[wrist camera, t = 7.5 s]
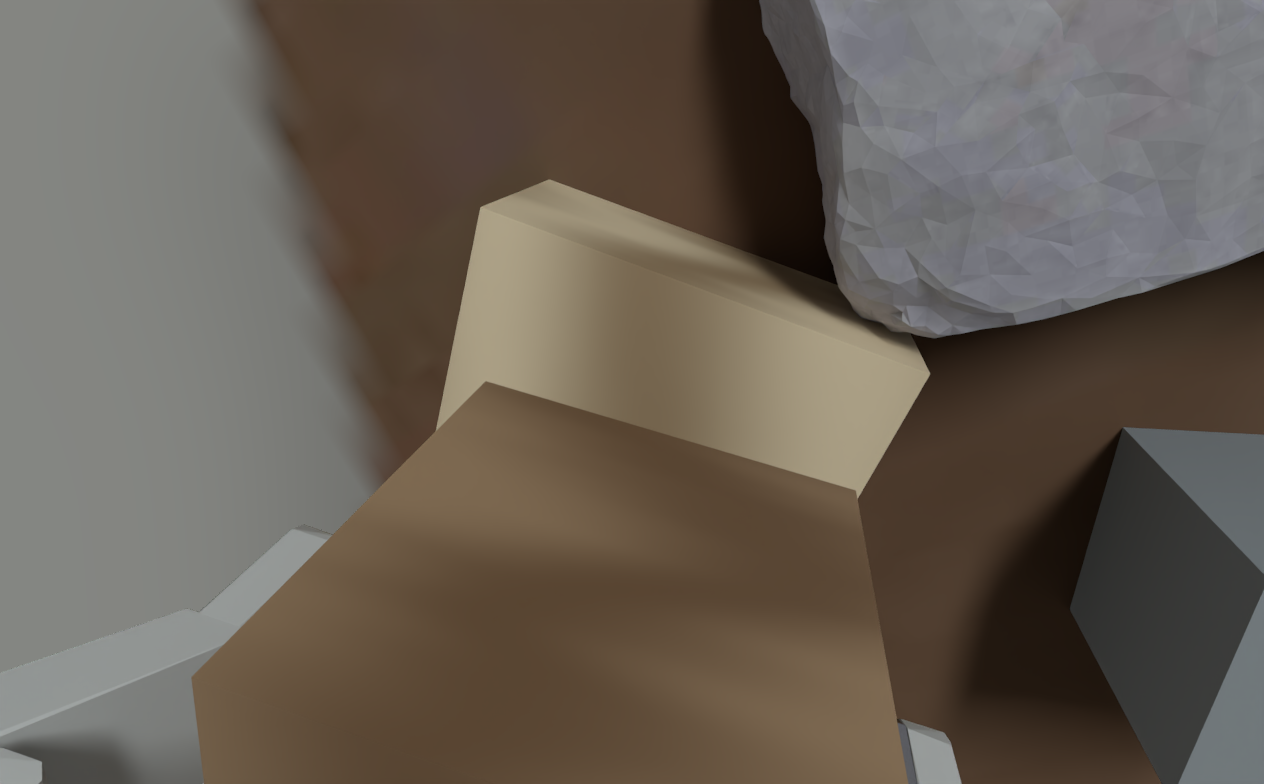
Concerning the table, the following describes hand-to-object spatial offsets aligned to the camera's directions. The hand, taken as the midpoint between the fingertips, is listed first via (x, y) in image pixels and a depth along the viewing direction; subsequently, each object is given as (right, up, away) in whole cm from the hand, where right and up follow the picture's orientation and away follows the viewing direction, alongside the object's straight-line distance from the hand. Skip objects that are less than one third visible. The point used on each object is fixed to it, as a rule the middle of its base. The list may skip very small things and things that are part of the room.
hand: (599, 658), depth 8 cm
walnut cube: (0, +1, +1) cm, 2 cm away
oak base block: (+1, +3, +8) cm, 9 cm away
